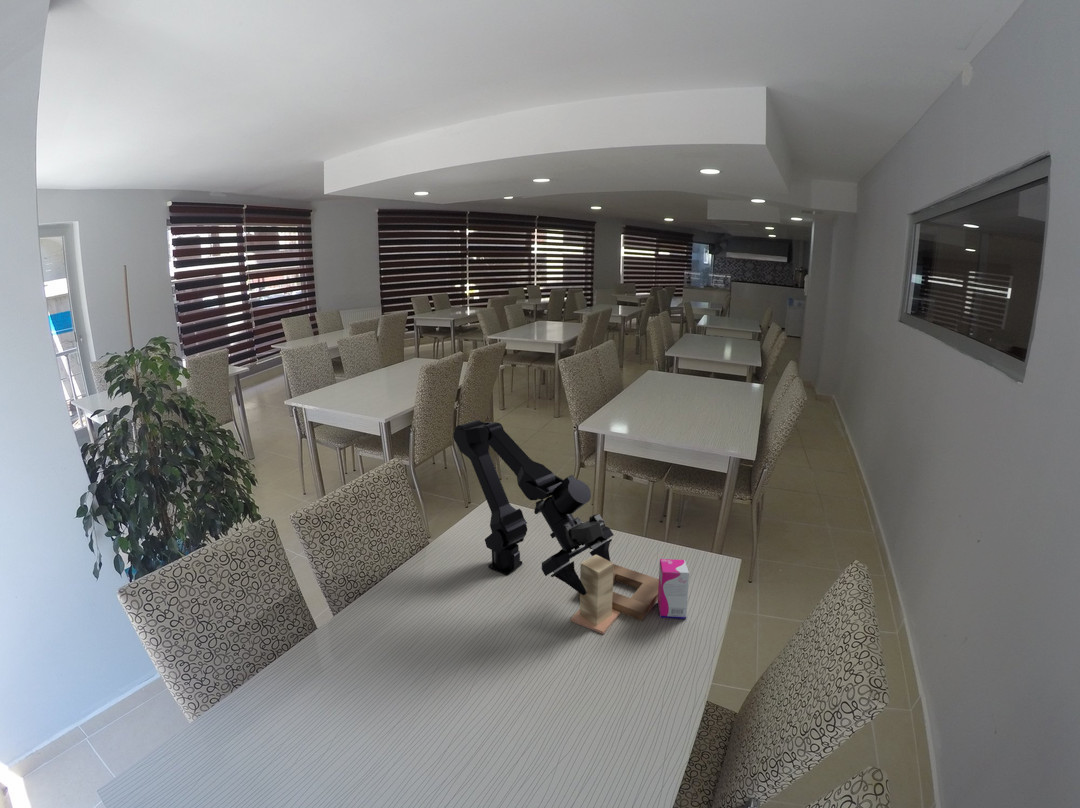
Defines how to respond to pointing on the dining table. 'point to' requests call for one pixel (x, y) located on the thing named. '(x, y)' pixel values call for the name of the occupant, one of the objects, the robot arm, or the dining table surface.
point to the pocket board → (640, 599)
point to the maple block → (596, 589)
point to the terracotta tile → (599, 628)
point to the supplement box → (673, 588)
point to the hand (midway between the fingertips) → (598, 585)
